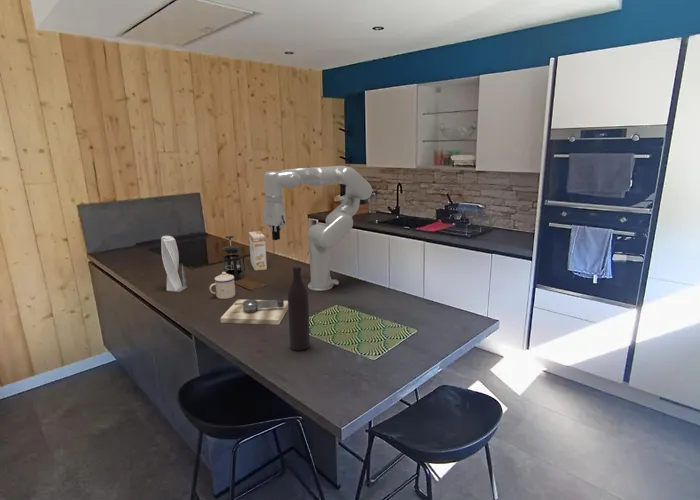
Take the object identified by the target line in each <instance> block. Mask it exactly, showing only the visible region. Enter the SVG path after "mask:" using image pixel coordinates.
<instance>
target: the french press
mask: <svg viewBox="0 0 700 500" xmlns="http://www.w3.org/2000/svg"><path fill="white" fill-rule="evenodd" d="M225 238H226V239H229V245H227V246H223V247H222V248H221V250H222V251H223V252H225V253H226V255H224V256H222V263H223V264H222V265H223V272H226V274H229V275H233V276H234V282H236V280H237V281H240V280H242V279H243V274H242V273H243V272H245V271H246V269H245V266H246V265H245V256H244V255H243V254H241V255H240V254H238V253H239V252H240V248H241V247H240V246H239V245H232V241H231V240H232V239H233V238H235V236H233V235H228V236H226V237H225ZM241 259H242V261H241ZM237 261H238V262H239V263H238V262H237ZM225 262H227V265H226V264H225ZM241 262H242V264H241ZM239 279H240V280H239Z"/></svg>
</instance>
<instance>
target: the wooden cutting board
mask: <svg viewBox="0 0 700 500" xmlns="http://www.w3.org/2000/svg"><path fill="white" fill-rule="evenodd" d="M246 300H247V299H236V300H235V301H234V303H233V304H232V305H231V306H230V307H229V308H228V309H227V310H226V311H225V313H224V314H223V315H222V316H221V317H220V323H221V324H228V323H229V324H248V325H250V324H253V325H274V326H275V325H276V326H277V325H278V326H279V325H280V324H281V322H282V320H283V318H284V317H285V315H286V313H287V312H288V300H284V306H283V307H272V308H258V309H257V310H255V311H251V312H247V311H244V310H243V305H235V303H243V302H244V301H246ZM255 300H256V301H267V300H268V299H255Z"/></svg>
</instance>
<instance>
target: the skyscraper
mask: <svg viewBox="0 0 700 500" xmlns="http://www.w3.org/2000/svg"><path fill="white" fill-rule="evenodd" d="M160 238H161V239H160V241H161V247H160V248H161V258H162V263H163V268H164V269H165V272H166V292H170V293H181V292H183V291H184V290H185V289H187V288H188V285H187V278H186V272H185V270H184V266H183V263H181V277H182V281H181V279H180V276H179V273H178V271H179V261H180V260H179V259H180V258H179V257H180V256H179V249H178V245H177V241H176V239H175V238H174V237H173V236H171V235H162V237H160Z"/></svg>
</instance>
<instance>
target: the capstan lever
mask: <svg viewBox="0 0 700 500" xmlns="http://www.w3.org/2000/svg"><path fill="white" fill-rule="evenodd" d="M245 300H246V301H244V302H243V303H235V302H234V303H235V305H243V310H244V311H247V312H251V311H255V310H257V309H258V308H272V307H283V306H284V301H285V300H284V299H283V298H280V299H279V298H278V299H270V300H269V299H266V300H267V301H256V300H257V299H245Z"/></svg>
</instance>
